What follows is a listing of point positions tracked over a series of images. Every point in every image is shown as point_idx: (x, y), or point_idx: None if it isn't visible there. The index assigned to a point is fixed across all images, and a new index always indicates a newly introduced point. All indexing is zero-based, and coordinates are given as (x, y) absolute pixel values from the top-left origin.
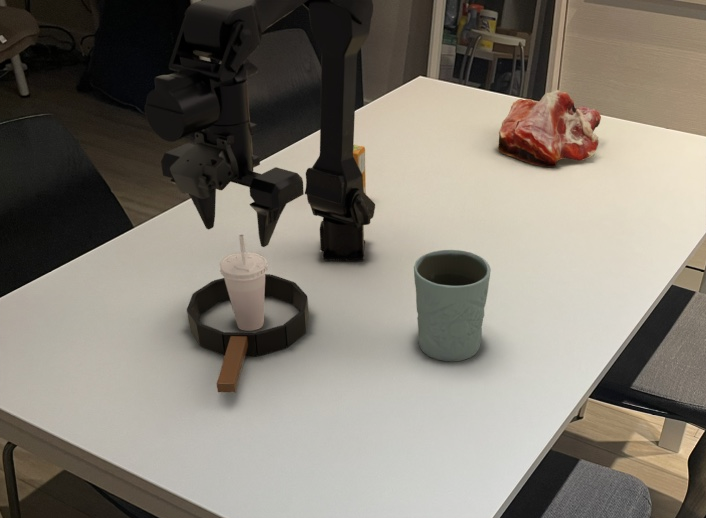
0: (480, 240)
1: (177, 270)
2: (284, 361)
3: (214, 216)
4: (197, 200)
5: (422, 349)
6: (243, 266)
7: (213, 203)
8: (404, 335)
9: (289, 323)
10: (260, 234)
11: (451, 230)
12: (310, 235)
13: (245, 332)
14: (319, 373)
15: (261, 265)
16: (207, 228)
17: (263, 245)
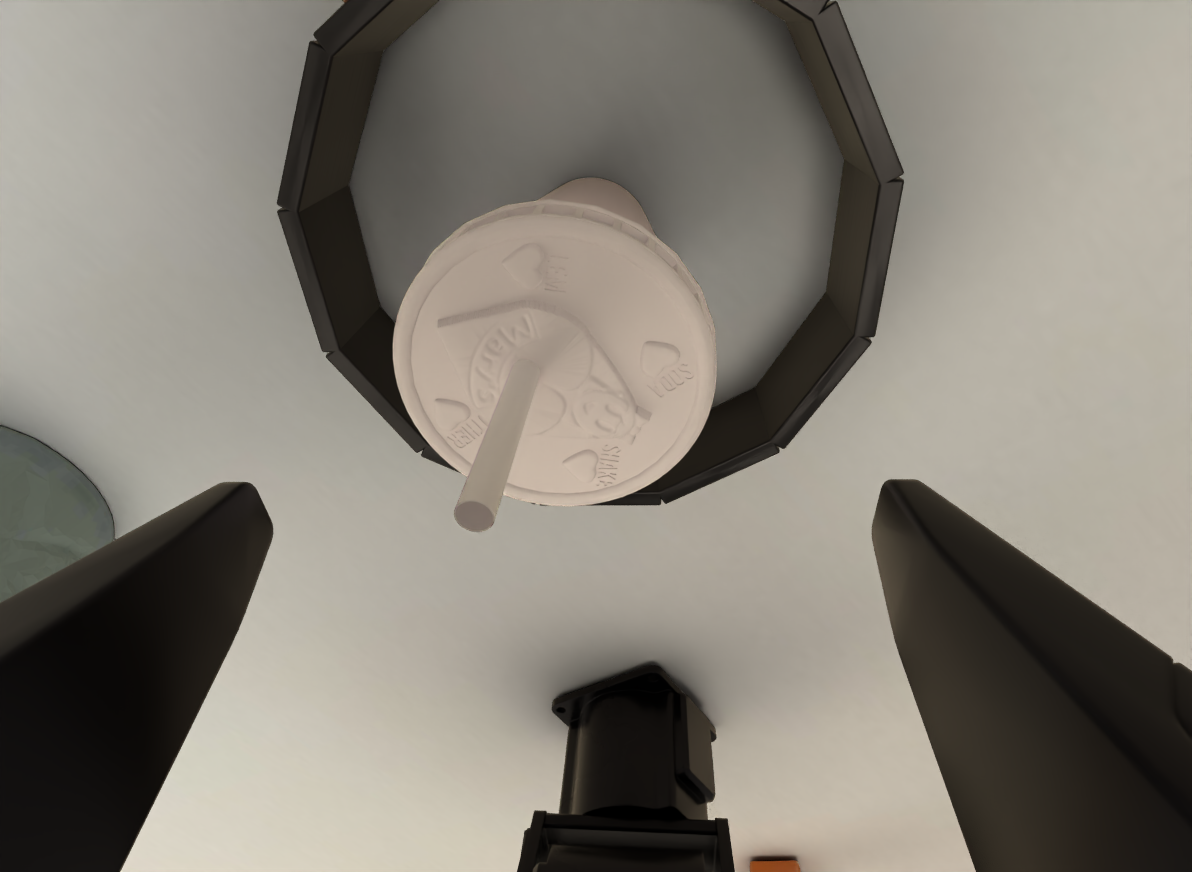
0: (395, 843)
1: (1157, 393)
2: (254, 85)
3: (895, 631)
4: (1177, 768)
5: (7, 435)
6: (505, 344)
7: (959, 778)
8: (138, 473)
9: (287, 242)
10: (124, 559)
11: (479, 851)
12: (785, 737)
13: (368, 22)
14: (84, 105)
15: (436, 419)
16: (900, 482)
17: (208, 491)
